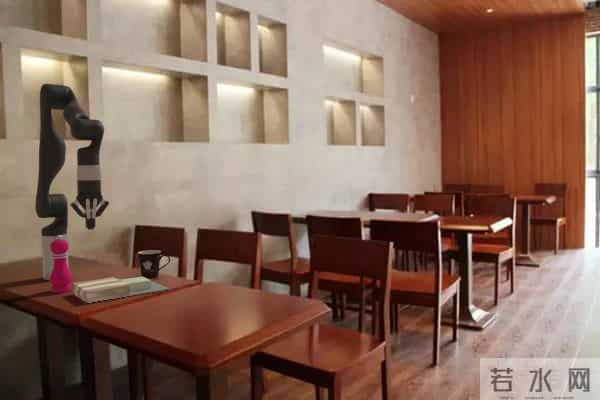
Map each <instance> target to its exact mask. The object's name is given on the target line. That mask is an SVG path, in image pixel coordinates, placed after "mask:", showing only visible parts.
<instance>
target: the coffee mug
mask: <svg viewBox="0 0 600 400" xmlns="http://www.w3.org/2000/svg"><path fill="white" fill-rule="evenodd" d="M137 255H138V256H137V257H138V263H139V269H140V277H145V278H147V279H149V280H151V278H153V279H157V278H159V275H160V274H159V273H160V270H162V269H164V268H165V267H167V265H169V263H170V262H171V257H170V256H169V255H168V254H162V255H161V250H157V249H155V250H154V249H149V250H141V251H138V252H137ZM163 257H166V258H167V259H168V262H167V263H166V264H164V265H163V266H161V267H160V263H161V260H162V258H163Z"/></svg>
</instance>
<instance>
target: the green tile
mask: <svg viewBox="0 0 600 400" xmlns="http://www.w3.org/2000/svg"><path fill="white" fill-rule="evenodd" d="M119 280H120V281H123V282H125V283H127V284H129V285H130V292H134V291H140V290H146V289H151V281H152V280H151V279H147V278H145V277H141V276H139V277H138V276H136V277H131V278H123V279H119Z"/></svg>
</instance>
